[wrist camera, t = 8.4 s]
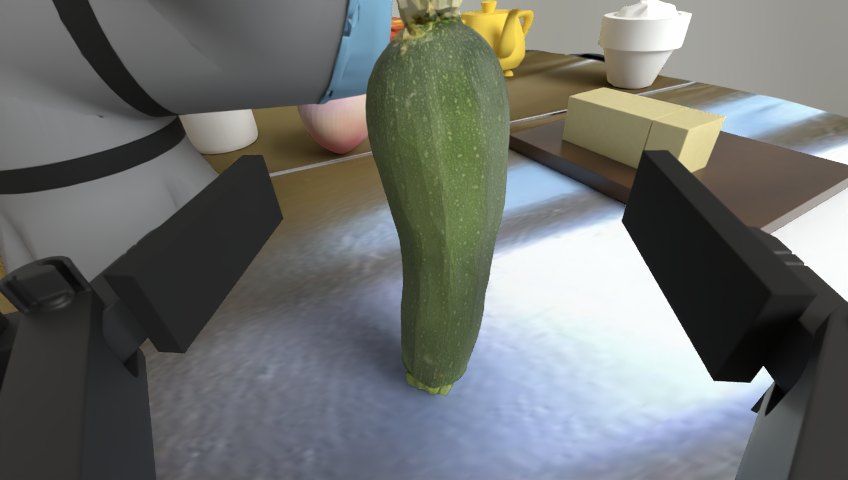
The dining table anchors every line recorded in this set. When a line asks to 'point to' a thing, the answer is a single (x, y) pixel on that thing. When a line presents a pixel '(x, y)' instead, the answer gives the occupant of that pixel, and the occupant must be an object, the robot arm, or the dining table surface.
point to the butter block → (613, 122)
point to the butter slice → (686, 136)
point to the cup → (220, 130)
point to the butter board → (706, 174)
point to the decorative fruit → (336, 123)
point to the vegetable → (440, 179)
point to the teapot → (501, 32)
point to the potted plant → (641, 41)
